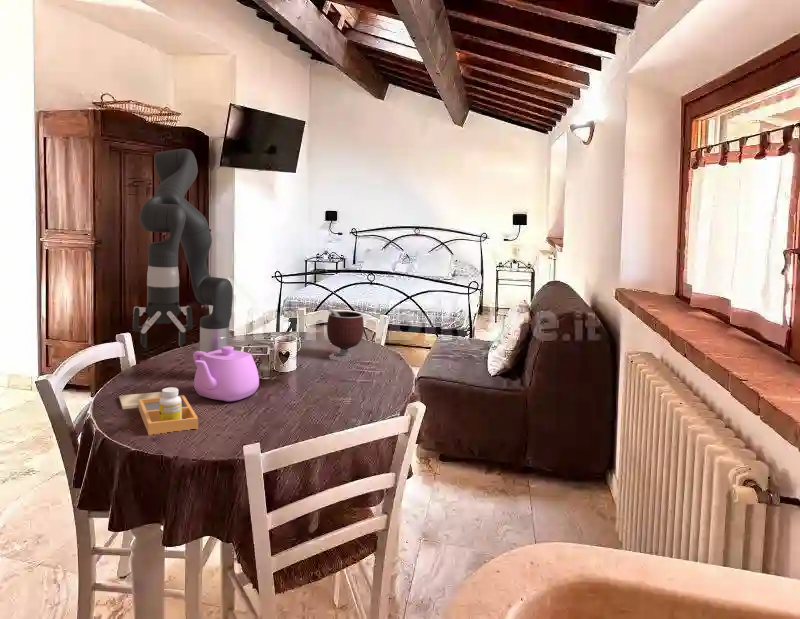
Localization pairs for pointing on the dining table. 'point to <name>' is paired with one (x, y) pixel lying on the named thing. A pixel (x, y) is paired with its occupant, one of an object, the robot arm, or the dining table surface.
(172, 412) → the supplement bottle
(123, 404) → the mat
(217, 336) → the robot arm
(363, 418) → the dining table surface
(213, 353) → the teapot
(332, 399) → the dining table surface
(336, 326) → the mate gourd
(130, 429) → the dining table surface
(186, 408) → the divided wooden tray
